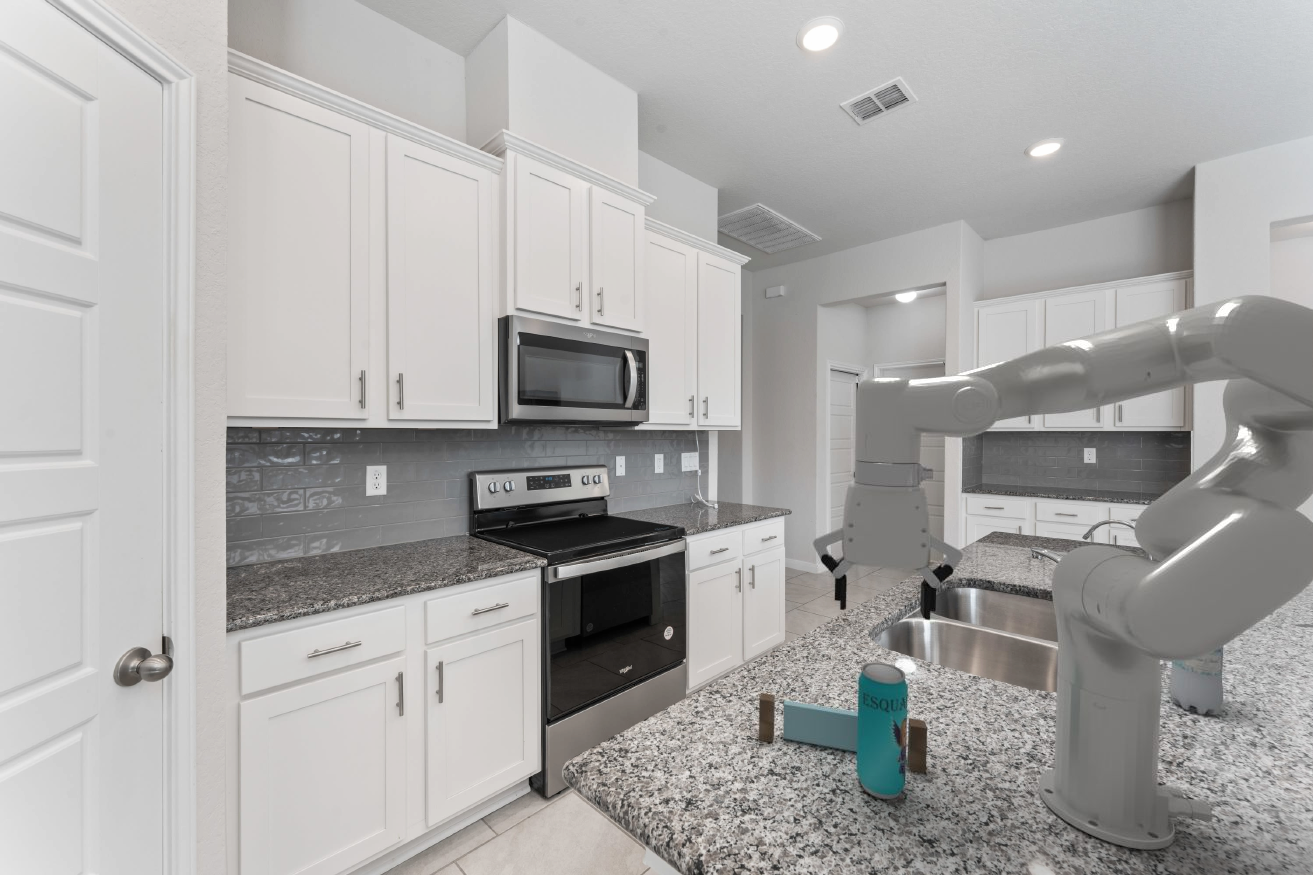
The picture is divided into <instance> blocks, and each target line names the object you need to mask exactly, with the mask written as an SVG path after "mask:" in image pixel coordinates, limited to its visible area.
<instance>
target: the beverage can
mask: <svg viewBox="0 0 1313 875" xmlns="http://www.w3.org/2000/svg"><path fill="white" fill-rule="evenodd" d="M860 669H861V670H860V671H861V673H860V674H859V676H858V683H857V684H858V687H857V689H858V690H857V712H858V728H857V752H856V773H857V775H858V778H859V781H860V784H861V786H862V788H863V789H864V790H865V791H866V793H868V794H870V795H871V796H873V797H875V798H878V799H883V800H892V799H896V798H897V797H899V796H900V794H901V793H902V790H903V789H904V786H905V784H906V780H907V779H906V778H907V777H906V776H907V743H908V740H907V739H908V736H907V735H908V733H907V732H908V698H909V697H908V694H909V692H908V690H909V688H908V687H909V686H908V683H907V681H906V673H905V672H904V670H902V669H901V668H900V667H898V666H895V665H893V664H890V663H886V662H879V661H878V662H877V661H874V662H873V661H872V662H866V663H864V664H862V665H861V668H860Z"/></svg>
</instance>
